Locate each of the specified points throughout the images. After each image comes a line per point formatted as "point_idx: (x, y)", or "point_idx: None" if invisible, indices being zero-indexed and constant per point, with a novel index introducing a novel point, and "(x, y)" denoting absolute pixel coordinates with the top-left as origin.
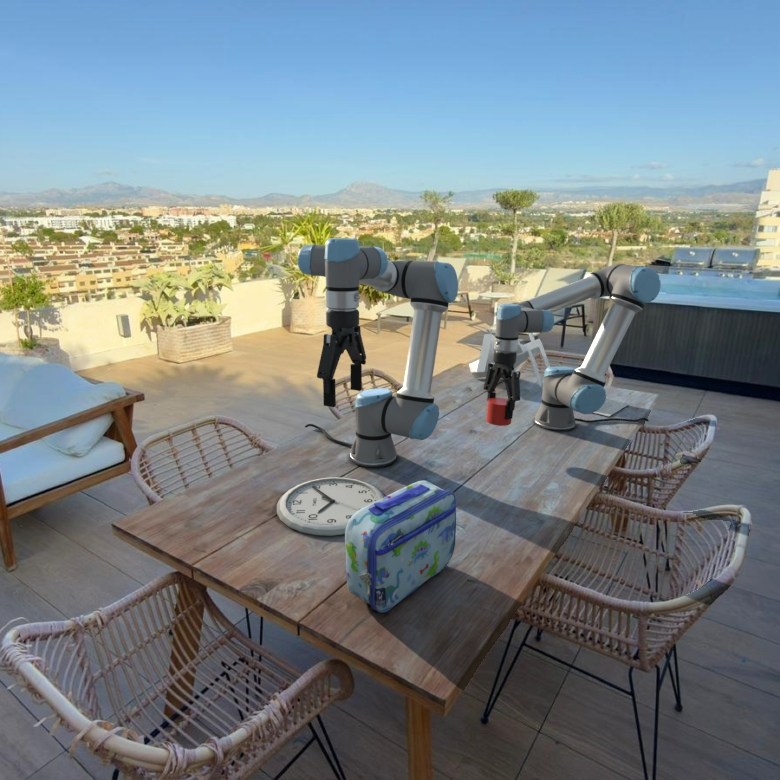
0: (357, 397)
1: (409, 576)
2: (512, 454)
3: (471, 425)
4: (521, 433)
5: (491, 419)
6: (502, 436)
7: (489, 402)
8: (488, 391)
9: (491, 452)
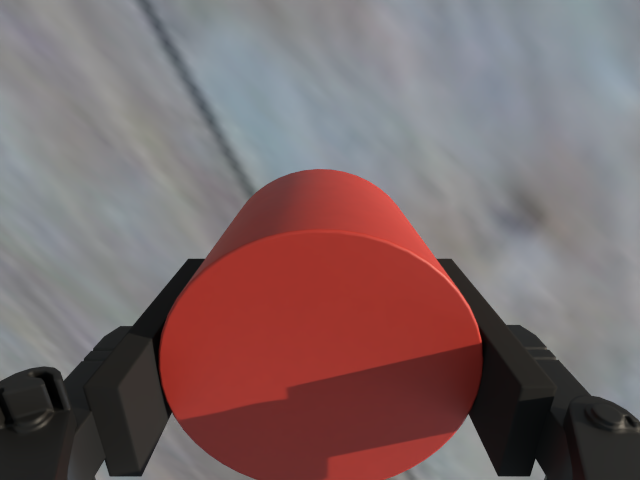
0: None
1: None
2: (191, 200)
3: (584, 262)
4: None
5: (297, 179)
6: None
7: (361, 231)
8: (587, 413)
9: (254, 118)
